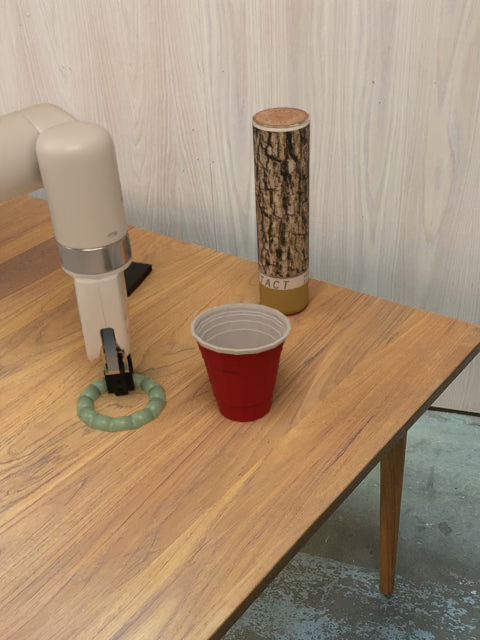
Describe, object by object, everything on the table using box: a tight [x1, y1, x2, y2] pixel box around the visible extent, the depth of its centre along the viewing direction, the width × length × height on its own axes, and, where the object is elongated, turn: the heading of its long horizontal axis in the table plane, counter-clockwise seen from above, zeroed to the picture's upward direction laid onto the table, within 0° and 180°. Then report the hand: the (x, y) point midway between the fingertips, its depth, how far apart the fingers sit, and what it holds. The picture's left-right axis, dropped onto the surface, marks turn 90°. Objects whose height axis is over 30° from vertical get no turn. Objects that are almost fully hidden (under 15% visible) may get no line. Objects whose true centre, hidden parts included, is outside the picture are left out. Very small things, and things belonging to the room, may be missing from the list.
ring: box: [76, 372, 168, 433], centre depth 92 cm, size 10×10×2 cm
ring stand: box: [124, 261, 153, 297], centre depth 111 cm, size 8×8×11 cm
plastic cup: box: [189, 302, 292, 423], centre depth 87 cm, size 11×11×12 cm
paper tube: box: [251, 106, 311, 316], centre depth 100 cm, size 7×7×25 cm
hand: (122, 388), depth 95 cm, fingers closed on ring, 2 cm apart
